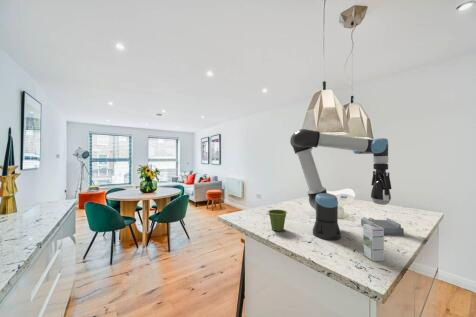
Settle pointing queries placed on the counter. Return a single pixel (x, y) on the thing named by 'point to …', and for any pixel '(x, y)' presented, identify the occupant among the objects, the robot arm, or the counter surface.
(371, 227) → the syrup box
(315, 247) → the counter surface
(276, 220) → the plant pot
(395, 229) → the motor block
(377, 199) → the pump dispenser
